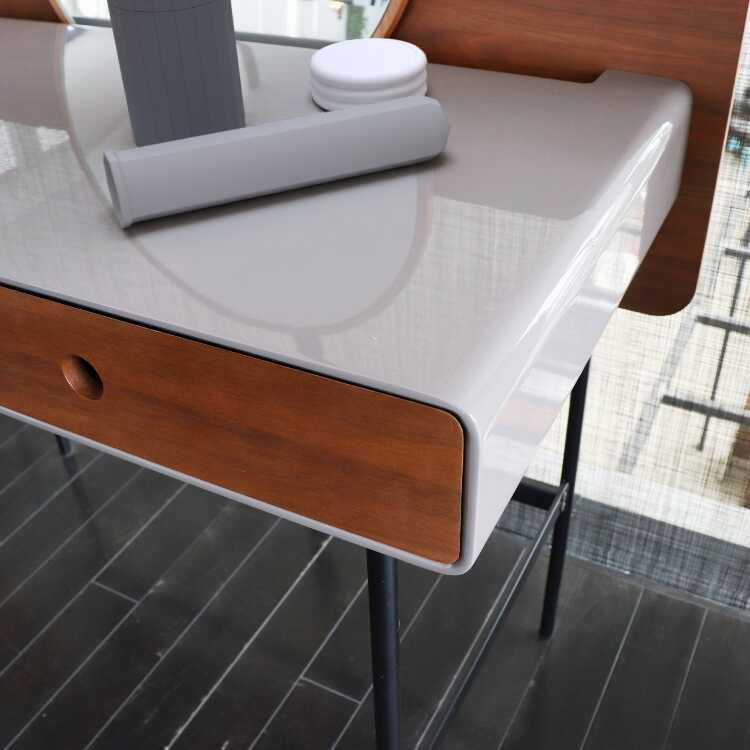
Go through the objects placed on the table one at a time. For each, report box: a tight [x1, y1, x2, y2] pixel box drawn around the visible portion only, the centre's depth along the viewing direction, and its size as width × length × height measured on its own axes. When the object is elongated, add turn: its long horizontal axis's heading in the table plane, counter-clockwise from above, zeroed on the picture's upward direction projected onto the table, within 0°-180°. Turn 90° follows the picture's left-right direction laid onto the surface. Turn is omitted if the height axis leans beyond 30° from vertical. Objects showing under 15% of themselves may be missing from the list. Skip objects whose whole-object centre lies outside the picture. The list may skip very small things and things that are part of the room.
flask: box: [106, 0, 247, 147], centre depth 77 cm, size 9×9×14 cm
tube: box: [102, 95, 452, 229], centre depth 71 cm, size 5×5×25 cm
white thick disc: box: [308, 37, 428, 112], centre depth 85 cm, size 10×10×4 cm
